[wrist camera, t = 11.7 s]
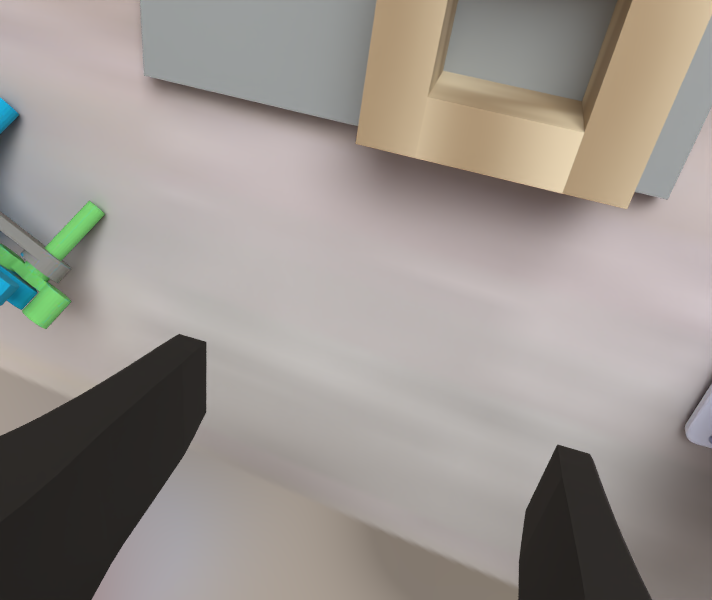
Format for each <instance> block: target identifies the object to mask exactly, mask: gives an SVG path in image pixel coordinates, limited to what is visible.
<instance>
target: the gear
mask: <svg viewBox="0 0 712 600" xmlns="http://www.w3.org/2000/svg"><path fill="white" fill-rule="evenodd" d="M18 116H19V114H18V113H17V112H16V111H15V110H14V109H13V108H12V107H11V106H10V105H8V104H7V103H6V102H5V101H4V100H3V99H1V98H0V134H1V133H2V132H3V131H4V130H5V129H6V128H7V127H8V126H9V125H10V124H11V123H12V122H13V121H14V120H15V119H16V118H17V117H18ZM104 215H105V213H103V212H102V211H101V210H100V209H99V208H98V207H96V206H95V205H94V204H93V203H92V202H90V201H89V202H88V203H87V204H86V205H85V206H84V207H83V208H82V209H81V210H80V211H79V212H78V213H77V214H76V215H75V216H74V217H73V218H72V219H71V221H70V222H69V223H68V224H67V225H66V226H65V227H64V228H63V229H62V230H61V231H60V232H59V233H58V234H57V235H56V236H55V237H54V238H53V240H52V241H51V242H50V243H49V244H48V245H47V246H46V247H45V246H44V245H43V244H42V243H40V242H39V241H38V240H36V239H35V238H34V237H33V236H31V235H30V234H29V233H28V232H26V231H25V230H24V229H22V228H21V227H20V226H19V225H17V224H16V223H15V222H13V221H12V220H11V219H10V218H8V217H7V216H6V215H5V214H3V213H2V212H1V211H0V231H1V232H3V233H4V234H5V235H7V236H8V237H9V238H10V239H12V240H13V241H14V242H16V243H17V244H18V245H20V246H21V247H22V248H23V249H25V250H24V251H23V252H22V253H21V256H22V257H23V258H24V259H25V260H26V262H24V261H23V260H22V259H21V258H20V257H19V256H18V255H17V254H15V253H14V252H13V251H12V250H10V249H9V248H7V247H6V246H4V245H2V244H0V306H1V305H3V304H4V302H5V301H6V300H7V301H8V302H10V303H11V304H12V305H14V306H16V307H17V308H19V309H21V310H22V309H23V308H24V307H25V306H26V305H27V304H28V303H29V302H30V301H31V300H32V298H33V297H34V296H35V295H36V294H37V293H38V292H37V290H38V291H39V293H38V294H37V295H36V297H35V298H34V299H33V300H32V301H31V302H30V303H29V304H28V305H27V306H26V307H25V308H24V309H23V310H22V312H23V313H24V314H25V315H26V316H27V317H28V318H29V319H30V320H31V321H33V322H34V323H36V324H37V325H39V326H40V327H42V328H44V329H47V328H48V327H49V325H50V324H51V323H52V322H53V321H54V320H55V319H56V318H57V317H58V316H59V315H60V314H61V312H62V311H63V310H64V309H65V308H66V307H67V306H68V305H69V304H70V303H71V300H70V299H69V298H68V297H67V296H66V295H64V294H63V293H62V292H61V291H59V290H58V289H57V288H55V287H54V286H52V285H51V284H50V283H49V282H48V280H49V279H51V280H53V281H55V282H57V283H59V282H60V281H61V279H62V278H63V277H64V276H65V275H66V274H67V273H68V272H69V271H70V270H71V267H70V266H69V265H67V264H66V263H65V262H64V261H63V259H64V258H65V257H66V255H67V254H68V253H69V252H70V251H71V250H72V249H73V248H74V247H75V246H76V245H77V244H78V243H79V242H80V241H81V239H82V238H83V237H84V236H85V235H86V234H87V233H88V232H89V231H90V230H91V229H92V228H93V227H94V226H95V225H96V223H97V222H98V221H99V220H100V219H101V218H102V217H103V216H104ZM36 289H37V290H36Z"/></svg>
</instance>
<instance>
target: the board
mask: <svg viewBox="0 0 712 600" xmlns="http://www.w3.org/2000/svg"><path fill="white" fill-rule="evenodd" d="M376 1H377V0H140V8H141V27H142V45H143V64H144V76H148V77H152V78H156V79H161V80H165V81H169V82H173V83H178V84H182V85H186V86H190V87H194V88H199V89H203V90H207V91H211V92H216V93H220V94H224V95H228V96H232V97H237V98H241V99H245V100H249V101H253V102H258V103H262V104H266V105H270V106H275V107H279V108H283V109H287V110H291V111H296V112H300V113H304V114H308V115H313V116H317V117H321V118H325V119H329V120H334V121H338V122H342V123H346V124H350V125H355V126H358V124H359V117H360V110H361V103H362V96H363V90H364V83H365V76H366V69H367V62H368V56H369V49H370V42H371V35H372V28H373V21H374V15H375V8H376ZM616 3H617V0H458V4H457V9H456V13H455V18H454V22H453V27H452V32H451V36H450V41H449V46H448V50H447V55H446V60H445V64H444V69H443V71H447V72H452V73H456V74H461V75H465V76H470V77H474V78H479V79H483V80H488V81H492V82H497V83H501V84H506V85H510V86H515V87H520V88H524V89H529V90H533V91H538V92H542V93H547V94H551V95H556V96H560V97H565V98H569V99H574V100H578V101H582V100H583V97H584V94H585V92H586V89H587V86H588V83H589V80H590V77H591V75H592V72H593V69H594V66H595V63H596V60H597V57H598V55H599V52H600V49H601V46H602V43H603V40H604V37H605V35H606V32H607V29H608V26H609V23H610V20H611V18H612V15H613V12H614V9H615V6H616ZM711 107H712V16H711V18H710V20H709V22H708V25H707V27H706V29H705V32H704V34H703V36H702V38H701V41H700V43H699V45H698V48H697V50H696V52H695V54H694V57H693V59H692V61H691V64H690V66H689V68H688V71H687V73H686V75H685V77H684V80H683V82H682V84H681V87H680V89H679V91H678V93H677V96H676V98H675V100H674V103H673V105H672V107H671V110H670V112H669V114H668V116H667V119H666V121H665V123H664V126H663V128H662V130H661V132H660V135H659V137H658V139H657V142H656V144H655V146H654V149H653V151H652V153H651V155H650V158H649V160H648V162H647V165H646V167H645V169H644V171H643V174H642V176H641V178H640V181H639V183H638V185H637V187H636V190H635V192H637V193H642V194H646V195H650V196H654V197H658V198H663V199H667V200H668V198H669V196H670V194H671V191H672V189H673V187H674V185H675V183H676V181H677V179H678V177H679V175H680V172H681V170H682V168H683V166H684V164H685V162H686V160H687V158H688V156H689V153H690V151H691V149H692V147H693V145H694V143H695V141H696V139H697V137H698V134H699V132H700V130H701V128H702V126H703V124H704V122H705V120H706V118H707V115H708V113H709V111H710V109H711Z"/></svg>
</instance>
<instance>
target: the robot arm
mask: <svg viewBox="0 0 712 600" xmlns="http://www.w3.org/2000/svg"><path fill="white" fill-rule="evenodd" d="M205 413H206V342H205V341H201V340H198V339H194V338H191V337H187V336H184V335H181V334H178V335H177V336H175V337H173V338H172V339H170V340H168V341H167V342H165V343H164V344H162V345H160V346H159V347H157V348H156V349H154V350H153V351H151V352H149V353H148V354H146V355H145V356H143V357H142V358H140V359H139V360H137V361H135V362H134V363H132V364H131V365H129V366H128V367H126V368H124V369H123V370H121V371H120V372H118V373H116V374H115V375H113V376H111V377H110V378H108V379H106V380H105V381H103V382H101V383H100V384H98V385H96V386H95V387H93V388H92V389H90V390H88V391H86V392H85V393H83V394H81V395H79V396H78V397H76V398H74V399H72V400H70V401H69V402H67V403H65V404H63V405H61V406H60V407H58V408H56V409H54V410H52V411H50V412H49V413H47V414H45V415H43V416H41V417H39V418H37V419H35V420H33V421H31V422H29V423H27V424H25V425H23V426H21V427H19V428H17V429H15V430H12V431H10V432H8V433H6V434H4V435H1V436H0V600H91V599H92V598H93V596H94V594H95V592H96V590H97V589H98V587H99V585H100V583H101V581H102V579H103V578H104V576H105V574H106V572H107V570H108V569H109V567H110V565H111V563H112V562H113V560H114V558H115V557H116V555H117V553H118V552H119V550H120V549H121V547H122V546H123V544H124V543H125V541H126V540H127V538H128V537H129V535H130V534H131V532H132V531H133V529H134V528H135V527H136V525H137V524H138V522H139V521H140V519H141V518H142V516H143V515H144V513H145V512H146V510H147V509H148V507H149V506H150V505H151V503H152V502H153V500H154V499H155V497H156V496H157V494H158V493H159V492H160V490H161V489H162V487H163V486H164V484H165V483H166V481H167V480H168V478H169V477H170V475H171V474H172V472H173V471H174V469H175V468H176V466H177V465H178V463H179V462H180V460H181V459H182V457H183V456H184V454H185V453H186V451H187V449H188V447H189V445H190V443H191V441H192V439H193V437H194V436H195V434H196V432H197V430H198V427H199V425H200V423H201V421H202V419H203V417H204V415H205ZM685 432H686V436H687V439H688V440H689V441H690V442H692V443H695V444H698V445H701V446H705V447H708V448H712V436H711V435H712V384H711V385H710V387H709V389H708V390H707V392H706V393H705V395H704V396H703V398H702V400H701V401H700V403H699V404H698V406H697V407H696V409H695V411H694V412H693V414H692V415H691V417H690V418H689V420H688V421H687V423H686V425H685ZM518 600H652V599H651V597H650V595H649V593H648V591H647V589H646V587H645V585H644V583H643V581H642V579H641V576H640V574H639V572H638V570H637V568H636V566H635V563H634V561H633V559H632V557H631V554H630V552H629V550H628V548H627V545H626V543H625V541H624V539H623V536H622V534H621V532H620V529H619V527H618V524H617V522H616V520H615V517H614V514H613V512H612V509H611V507H610V504H609V502H608V499H607V497H606V494H605V491H604V489H603V486H602V483H601V480H600V478H599V475H598V472H597V469H596V466H595V464H594V461H593V459H592V457H591V455H590V454H588V453H585V452H581V451H578V450H574V449H571V448H568V447H564V446H561V445H557V446H556V449H555V451H554V453H553V455H552V457H551V459H550V461H549V463H548V465H547V467H546V469H545V471H544V474H543V476H542V478H541V480H540V482H539V484H538V486H537V488H536V490H535V492H534V494H533V496H532V498H531V501H530V503H529V505H528V507H527V509H526V512H525V519H524V527H523V534H522V541H521V550H520V558H519V599H518Z"/></svg>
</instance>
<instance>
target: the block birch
mask: <svg viewBox="0 0 712 600" xmlns="http://www.w3.org/2000/svg"><path fill="white" fill-rule="evenodd" d="M457 4H458V0H377V1H376V8H375V15H374V21H373V28H372V35H371V42H370V49H369V56H368V62H367V69H366V76H365V83H364V90H363V96H362V103H361V110H360V117H359V124H358V131H357V137H356V144H358V145H363V146H367V147H371V148H375V149H379V150H383V151H387V152H392V153H396V154H400V155H404V156H408V157H412V158H417V159H421V160H425V161H429V162H433V163H437V164H441V165H446V166H450V167H454V168H458V169H462V170H466V171H470V172H475V173H479V174H483V175H487V176H491V177H495V178H500V179H504V180H508V181H512V182H516V183H520V184H524V185H529V186H533V187H537V188H541V189H545V190H549V191H553V192H558V193H562V194H566V195H570V196H574V197H578V198H583V199H587V200H591V201H595V202H599V203H603V204H607V205H612V206H616V207H620V208H624V209H627V208H628V206H629V204H630V201H631V199H632V197H633V194H634V192H635V190H636V187H637V185H638V183H639V181H640V178H641V176H642V174H643V171H644V169H645V167H646V165H647V162H648V160H649V158H650V155H651V153H652V151H653V149H654V146H655V144H656V142H657V139H658V137H659V135H660V132H661V130H662V128H663V126H664V123H665V121H666V119H667V116H668V114H669V112H670V110H671V107H672V105H673V103H674V100H675V98H676V96H677V93H678V91H679V89H680V87H681V84H682V82H683V80H684V77H685V75H686V73H687V71H688V68H689V66H690V64H691V61H692V59H693V57H694V54H695V52H696V50H697V48H698V45H699V43H700V41H701V38H702V36H703V34H704V32H705V29H706V27H707V25H708V22H709V20H710V18H711V16H712V0H617V3H616V6H615V9H614V12H613V15H612V18H611V20H610V23H609V26H608V29H607V32H606V35H605V37H604V40H603V43H602V46H601V49H600V52H599V55H598V57H597V60H596V63H595V66H594V69H593V72H592V75H591V77H590V80H589V83H588V86H587V89H586V92H585V94H584V97H583V100H582V101H578V100H574V99H569V98H565V97H560V96H556V95H551V94H547V93H542V92H538V91H533V90H529V89H524V88H520V87H515V86H510V85H506V84H501V83H497V82H492V81H488V80H483V79H479V78H474V77H470V76H465V75H461V74H456V73H452V72H447V71H443V69H444V64H445V60H446V55H447V50H448V46H449V41H450V36H451V32H452V27H453V22H454V18H455V13H456V9H457Z"/></svg>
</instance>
